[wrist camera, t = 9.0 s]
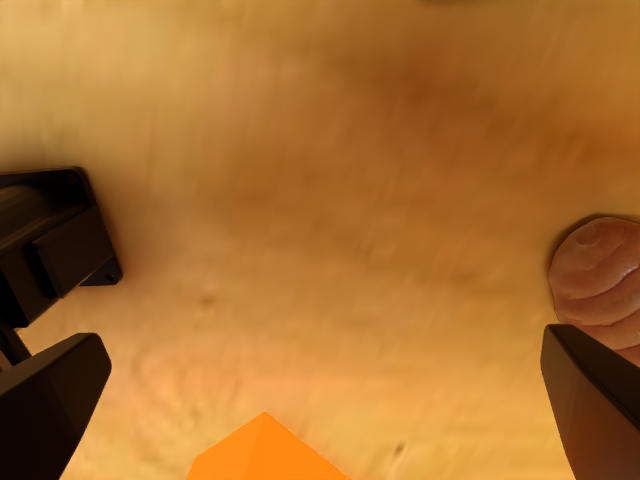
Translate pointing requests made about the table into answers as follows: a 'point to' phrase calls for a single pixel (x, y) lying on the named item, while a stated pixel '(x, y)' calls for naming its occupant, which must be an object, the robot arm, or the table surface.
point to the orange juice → (262, 456)
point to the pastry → (601, 283)
